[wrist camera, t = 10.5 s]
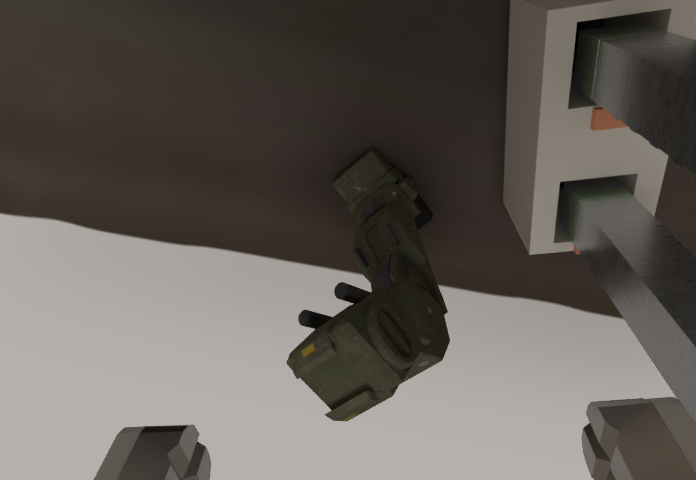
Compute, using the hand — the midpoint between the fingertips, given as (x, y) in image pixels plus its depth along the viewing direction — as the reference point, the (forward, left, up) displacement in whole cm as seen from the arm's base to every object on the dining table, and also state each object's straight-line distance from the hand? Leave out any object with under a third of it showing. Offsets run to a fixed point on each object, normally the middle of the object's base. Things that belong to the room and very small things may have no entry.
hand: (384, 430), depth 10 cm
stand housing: (+7, +17, -39) cm, 43 cm away
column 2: (+13, +17, -31) cm, 38 cm away
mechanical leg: (+14, -1, -39) cm, 42 cm away
